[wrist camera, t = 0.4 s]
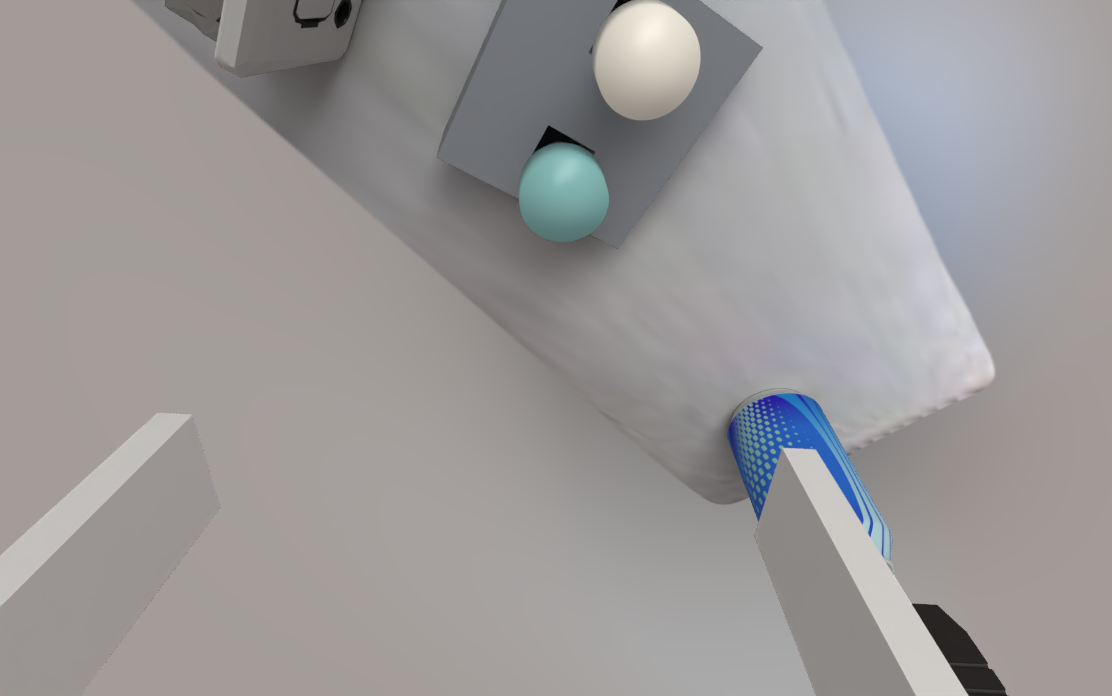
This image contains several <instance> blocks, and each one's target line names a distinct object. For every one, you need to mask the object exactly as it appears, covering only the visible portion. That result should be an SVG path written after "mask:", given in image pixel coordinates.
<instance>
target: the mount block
mask: <svg viewBox="0 0 1112 696" xmlns="http://www.w3.org/2000/svg"><path fill="white" fill-rule="evenodd" d="M659 1H662V2H664V3H666V4H668V5H669V6H671V7H672V8H673V9H674V10H676V11H677V12H678V13H679V14H680V15H681V16H682V17H684V18H685V19H686V20H687V21H688V23H689V24H690V25H691V26H692V28H693V30H694V31H695V34H696V36H697V38H698V42H699V46H700V56H701V60H700V68H699V73H698V76H697V79H696V82H695V84H694V86H693V88H692V90H691V92H690V93H689V95H688V96H687V97H686V99H685V100H684V101H683V102H682V103H681V104H680V105H679V106H678V107H677V108H675V109H674V110H673V111H671V112H670V113H668V114H666V115H664V116H662V117H659V118H656V119H652V120H633V119H629V118H626V117H624V116H622V115H620V114H618V113H617V112H615V111H614V110H613V109H612V108H611V107H610V106H609V105H608V104H607V102H606V101H605V99H604V98H603V96H602V94H601V92H600V89H599V87H598V84H597V81H596V79H595V76H594V72H593V67H592V48H593V44H594V40H595V37H596V34H597V32H598V30H599V28H600V26H601V25H602V23H603V22H604V21H605V19H606V18H607V17H608V16H609V15H610V13H611V11H612V9H613V7H614V6H615V4H616V2H617V0H502V2H501V4H500V6H499V9H498V11H497V13H496V15H495V18H494V20H493V22H492V25H491V27H490V29H489V31H488V34H487V36H486V38H485V40H484V43H483V45H482V47H481V49H480V52H479V54H478V56H477V58H476V61H475V63H474V65H473V67H472V70H471V72H470V74H469V76H468V79H467V81H466V83H465V85H464V88H463V90H462V92H461V94H460V97H459V99H458V101H457V103H456V106H455V108H454V110H453V112H452V115H451V117H450V119H449V121H448V124H447V126H446V128H445V130H444V133H443V136H442V140H441V143H440V147H439V150H438V154H437V157H436V158H438V159H440V160H442V161H444V162H446V163H448V164H450V165H452V166H454V167H456V168H458V169H460V170H462V171H464V172H466V173H468V174H470V175H472V176H474V177H476V178H478V179H480V180H482V181H484V182H486V183H488V184H490V185H492V186H494V187H496V188H498V189H500V190H502V191H504V192H505V193H507V194H509V195H511V196H513V197H515V198H517V199H519V179H520V174H521V171H522V168H523V166H524V164H525V163H526V161H527V160H528V159H529V158H530V156H531V155H533V154H534V153H533V152H534V150H535V148H536V147H537V145H538V143H539V141H540V139H541V138H542V136H543V134H544V132H545V130H546V129H547V127H548V125H549V126H551V127H553V128H554V129H556V130H558V131H560V132H561V133H563V134H565V135H567V136H568V137H570V138H572V139H574V140H575V141H577V142H579V144H578V146H581V147H583V148H585V149H586V150H588V151H589V152H590V153H591V154H592V155H593V156H594V157H595V158H596V159H597V161H598V162H599V164H600V166H601V168H602V171H603V175H604V178H605V182H606V185H607V189H608V194H609V204H608V209H607V213H606V215H605V217H604V219H603V221H602V222H601V224H600V225H599V226H598V227H597V228H596V229H595V230H594V231H593V232H592V233H590V234H589V235H591V236H593V237H595V238H597V239H599V240H601V241H603V242H605V243H607V244H608V245H610V246H612V247H614V248H616V249H618V248H619V246H620V245H621V243H622V242H623V241H624V239H625V238H626V236H627V235H628V234H629V232H630V231H631V230H632V228H633V227H634V225H635V224H636V223H637V221H638V220H639V218H640V217H641V216H642V214H643V213H644V212H645V210H646V209H647V207H648V206H649V205H650V203H651V202H652V201H653V199H654V198H655V196H656V195H657V194H658V192H659V191H660V189H661V188H662V187H663V185H664V184H665V183H666V181H667V180H668V178H669V177H670V176H671V174H672V173H673V171H674V170H675V169H676V167H677V166H678V165H679V163H680V162H681V160H682V159H683V158H684V156H685V155H686V153H687V152H688V151H689V149H690V148H691V147H692V145H693V144H694V142H695V141H696V140H697V138H698V137H699V136H700V134H701V133H702V131H703V130H704V129H705V127H706V126H707V124H708V123H709V122H710V120H711V119H712V118H713V116H714V115H715V113H716V112H717V111H718V109H719V108H720V106H721V105H722V104H723V102H724V101H725V100H726V98H727V97H728V95H729V94H730V93H731V91H732V90H733V89H734V87H735V86H736V84H737V83H738V82H739V80H740V79H741V77H742V76H743V75H744V73H745V72H746V71H747V69H748V68H749V66H750V65H751V64H752V62H753V61H754V59H755V58H756V57H757V55H758V54H759V53H760V51H761V50H762V48H763V47H761V46H760V45H759V44H757V43H756V42H755V41H753V40H752V39H751V38H749V37H748V36H747V35H745V34H744V33H742V32H741V31H740V30H738V29H737V28H736V27H734V26H733V25H732V24H730V23H729V22H728V21H726V20H725V19H724V18H722V17H721V16H720V15H718V14H717V13H716V12H714V11H713V10H711V9H710V8H709V7H707V6H706V5H705V4H703V3H702V2H701V1H699V0H659Z"/></svg>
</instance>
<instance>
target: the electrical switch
mask: <svg viewBox="0 0 1112 696" xmlns="http://www.w3.org/2000/svg"><path fill="white" fill-rule="evenodd" d="M361 2H362V0H165V7H167V8H168V9H170V10H171V11H173V12H174V13H176V14H178V15H179V16H181V17H183V18H184V19H186V20H187V21H189V22H191V23H192V24H194V25H195V26H196V27H197V28H198V29H199V30H200V31H201V32H202V33H203V34H204V35H206V36H208V37H209V38H211V39H213V40H214V41H216V42H217V43H216V49H215V55H214V58H215V59H216V61H217V62H218V64H219V65H220V66H221V67H222V68H224V69H226V70H228V71H230V72H232V73H233V74H235V75H237V76H239V77H247V76H252V75H257V74H263V73H268V72H274V71H279V70H285V69H290V68H295V67H301V66H306V65H312V64H317V63H323V62H328V61H333V60H339V59H340V58H341V57H342V55H343V54H344V53H345V52H346V50H347V48H348V45H349V42H350V38H351V35H352V32H353V28H354V25H355V22H356V18H357V15H358V12H359V8H360V5H361Z"/></svg>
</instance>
